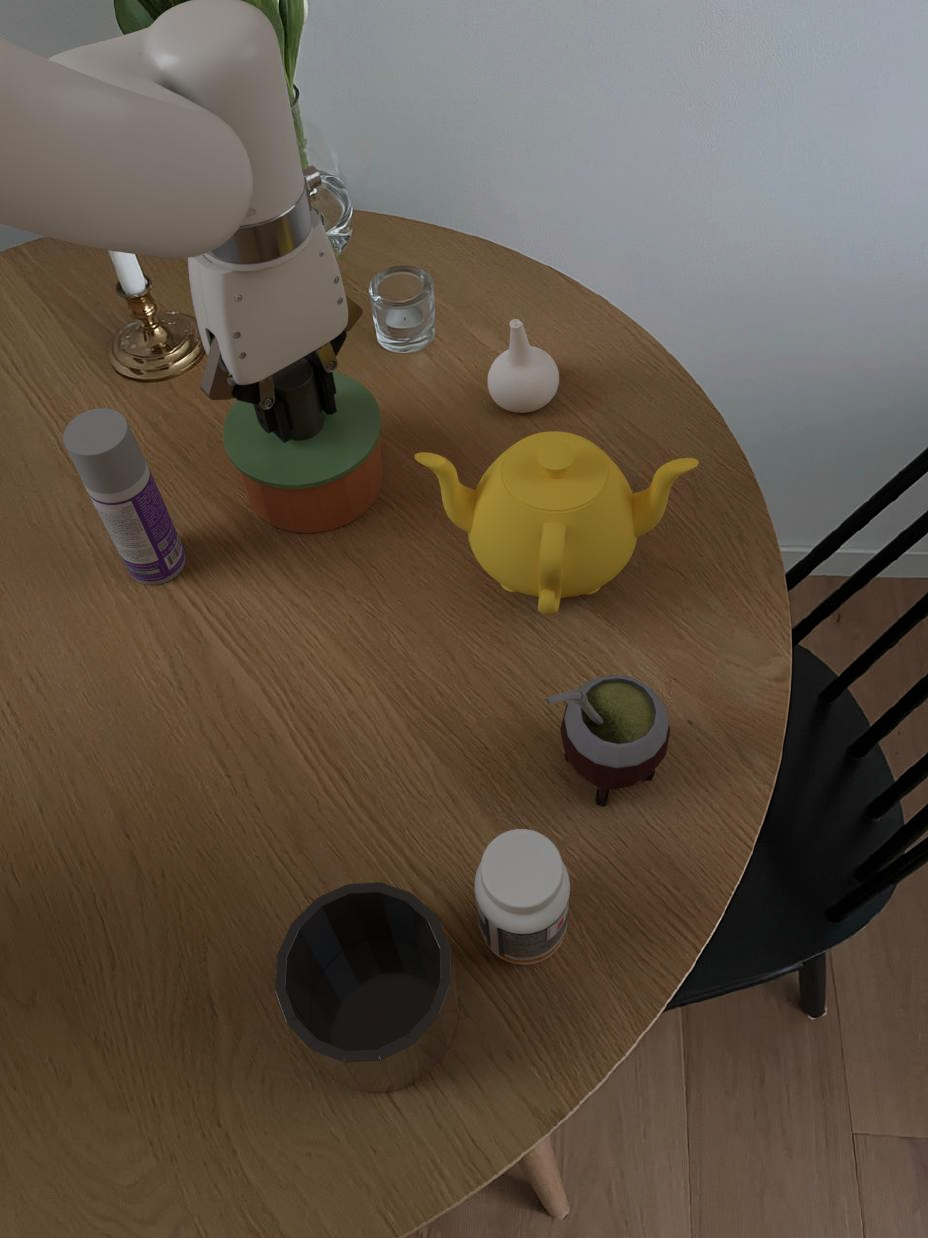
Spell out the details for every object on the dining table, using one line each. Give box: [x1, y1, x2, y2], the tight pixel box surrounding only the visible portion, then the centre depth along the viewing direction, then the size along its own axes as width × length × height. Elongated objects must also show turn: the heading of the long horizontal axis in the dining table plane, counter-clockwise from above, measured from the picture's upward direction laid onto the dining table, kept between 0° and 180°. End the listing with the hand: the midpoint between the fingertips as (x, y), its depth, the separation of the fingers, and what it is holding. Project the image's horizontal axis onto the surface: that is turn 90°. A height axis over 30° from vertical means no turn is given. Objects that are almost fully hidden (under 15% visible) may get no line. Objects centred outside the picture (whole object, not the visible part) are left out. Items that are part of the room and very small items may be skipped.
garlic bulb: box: [487, 318, 560, 414], centre depth 91 cm, size 6×6×8 cm
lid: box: [222, 358, 383, 489], centre depth 82 cm, size 13×13×7 cm
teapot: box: [414, 430, 700, 616], centre depth 79 cm, size 20×15×12 cm
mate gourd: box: [544, 674, 671, 807], centre depth 67 cm, size 8×8×15 cm
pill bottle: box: [474, 828, 572, 966], centre depth 64 cm, size 6×6×10 cm
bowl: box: [237, 439, 384, 534], centre depth 87 cm, size 12×12×6 cm
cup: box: [274, 881, 460, 1094], centre depth 62 cm, size 10×10×9 cm
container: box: [62, 407, 187, 586], centre depth 79 cm, size 5×5×15 cm
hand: (299, 416), depth 83 cm, fingers closed on lid, 3 cm apart
